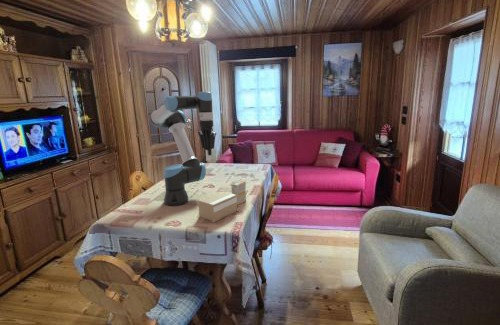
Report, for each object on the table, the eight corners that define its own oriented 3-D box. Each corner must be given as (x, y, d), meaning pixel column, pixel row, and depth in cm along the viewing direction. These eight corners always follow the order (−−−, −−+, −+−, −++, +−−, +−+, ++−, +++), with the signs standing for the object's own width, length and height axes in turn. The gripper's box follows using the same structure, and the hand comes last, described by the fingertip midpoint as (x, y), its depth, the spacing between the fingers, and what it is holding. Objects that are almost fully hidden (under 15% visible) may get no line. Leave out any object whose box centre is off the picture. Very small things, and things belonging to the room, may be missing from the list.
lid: (198, 201, 154) (198, 200, 154) (221, 192, 168) (221, 191, 168) (213, 206, 147) (213, 204, 147) (236, 196, 160) (236, 194, 160)
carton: (199, 217, 156) (198, 201, 154) (222, 206, 170) (221, 192, 168) (214, 222, 149) (213, 206, 147) (237, 211, 162) (236, 196, 160)
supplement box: (240, 199, 180) (239, 180, 177) (246, 201, 177) (245, 181, 174) (231, 203, 174) (230, 183, 171) (237, 205, 171) (236, 184, 168)
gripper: (193, 120, 160) (196, 160, 166) (209, 120, 152) (211, 163, 158) (203, 118, 166) (206, 158, 171) (219, 119, 158) (221, 160, 163)
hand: (208, 160), depth 165 cm, fingers closed
